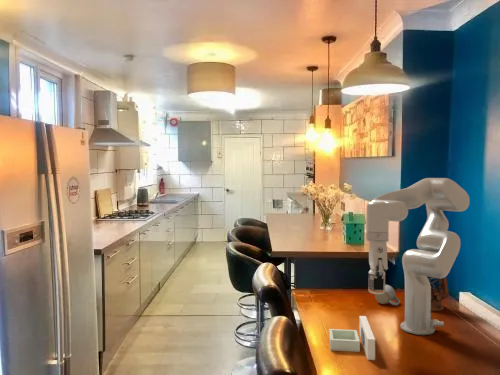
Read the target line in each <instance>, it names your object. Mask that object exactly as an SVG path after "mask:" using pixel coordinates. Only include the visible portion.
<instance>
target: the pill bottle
mask: <svg viewBox="0 0 500 375" xmlns="http://www.w3.org/2000/svg"><path fill="white" fill-rule="evenodd" d="M369 268H370V269H369V271H368V273H367V274H368V278H367V279H368V286H367V287H368V292H369V293H370V294H374V295H375V294H383V293H385V285H386V271H385V269H384V268H383V277H384V288H383V290H374V278H375V272H374V269H373V268H372V266H371V264H370V265H369ZM376 269H379V268H376ZM377 272H378V271H377Z"/></svg>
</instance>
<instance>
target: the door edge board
mask: <svg viewBox="0 0 500 375" xmlns="http://www.w3.org/2000/svg"><path fill="white" fill-rule="evenodd" d="M358 317H359V320H358V321H359V323H358V324H359V327H358V328H359V332H358V333H359V334H358V335H359V338H360V340H361V343H362V346H363V349H364V352H365V356H366V359H367V361H375V360H376V338H375V334H374V333H373V331H372V328H371V326H370V323H369V321H368V320H369V319H368V318H367V316H366V315H359V316H358Z"/></svg>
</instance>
